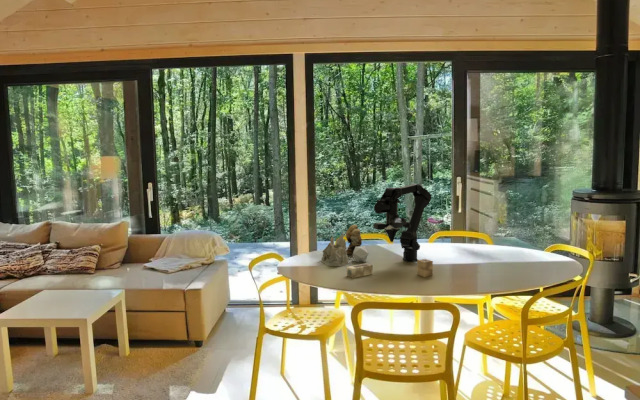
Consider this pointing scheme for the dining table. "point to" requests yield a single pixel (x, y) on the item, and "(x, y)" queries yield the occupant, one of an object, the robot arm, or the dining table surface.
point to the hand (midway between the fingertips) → (391, 241)
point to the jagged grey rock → (335, 253)
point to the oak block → (424, 267)
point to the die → (360, 254)
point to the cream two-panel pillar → (359, 270)
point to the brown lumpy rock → (353, 239)
